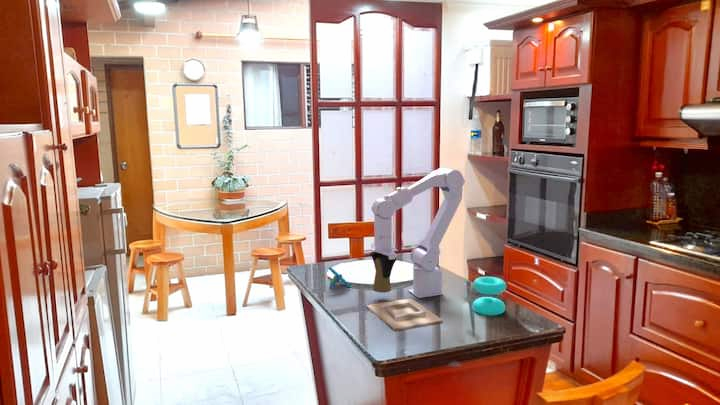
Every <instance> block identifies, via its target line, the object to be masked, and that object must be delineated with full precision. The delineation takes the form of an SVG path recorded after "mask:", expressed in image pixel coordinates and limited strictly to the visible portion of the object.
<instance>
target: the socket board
mask: <svg viewBox="0 0 720 405" xmlns="http://www.w3.org/2000/svg"><path fill="white" fill-rule="evenodd" d="M366 308H367V309H369V310H370V311H371V312H372V313H373V314H374V315H376V317H378V319H380V320H381V321H382V322H383V323H385V324H386V325H387V326H388V327H389V328H391V329H392V330H393V331H399V330H406V329H411V328H417V327H422V326H428V325H434V324H439V323H443V322H444V321H443V319H442V318H441V317H439V316H438V315H436V314H434V312H432V311H430V310H429V309H427V308H425V306H423V305H421V304H420V303H419V302H417V301H416V300H414V299H413V298H411V297H410V298H403V299H398V300H392V301H385V302H378V303H371V304H366Z"/></svg>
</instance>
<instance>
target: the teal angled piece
mask: <svg viewBox="0 0 720 405" xmlns="http://www.w3.org/2000/svg"><path fill="white" fill-rule="evenodd" d="M328 270H329V271H330V272H331V273H332V274H333V278H332V279H331V281H329V288H330V289H332V288H333V287H334V286H335V285H336V284H337V283H339V282H340V281H341V282H342V283H343V285H345V286H347V287H348V288H350V287H351V284H350V283H349V282H348V281H347V280H346V279H345V278H344V277H343V274H341V273H338V272H337V271H336V270H335V269H333V267H331V266H329V268H328Z"/></svg>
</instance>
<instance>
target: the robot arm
mask: <svg viewBox="0 0 720 405" xmlns="http://www.w3.org/2000/svg"><path fill="white" fill-rule="evenodd" d="M465 183H466V181H465V178H464V176H463V174H462V172H461V171H459V170H457V169H451V168H447V167H445V166H443V167H439V168H437V169H436V170H432V171H431V172H430V173H429V174H428V175H426V176H424V177H423V178H422V179H420V180H418V181H417V182H415V183H413V184H412V185H410V186H409V187H405V186H401V187H400V186H399V187H396V189H395V191H393V192H391V193H390V194H385V195H384V196H383V198H381V197H380V198H376V200H374V202H373V203H372V206H371V211H372V213H373V215H374V218H373V219H374V222H373V226H374V228H373V229H374V230H373V231H374V232H373V233H374V234H373V235H374V236H373V237H374V238H373V239H374V243H373V242H372V243H371V249H370V250H371V251H370V252H369V255H370V256H371V258H372V260H373V264H374V268H375V270H376V268H377V267H376V266H375V260H376V259H377V258H378V257H379V260H380V262H381V266H382V273H383V278H389V277H390V278H391V274H392V270H393V268H394V264H395V263H396V261H397V259H398V258H397V256H396V252H395V251H394V249H393V246H392V245H393V243H392V242H393V239H392V238H393V237H392V236H393V235H392V234H393V232H392V231H393V230H392V227H393V226H392V225H393V224H392V223H393V222H392V217H393V216H394V214H395V212H397V211H398V210H399V209H402V208H404V207H405V206H406V205H409V204H410V203H412V201H413V198H414V197H415V196H417V195H419V194H421V193H423V192H425V191H427V190H429V189H431V188H433V187H435V188H436V187H437V188H438V187H439V188H440V189H441V192H442V194H443V196H444V198H443V201H442V202H441V204H440V206H439V208H438V210H437V213H436V215H435V217H434V218H433V221H432V223H431V225H430V227H429V229H428V230H427V232H426V234H425V237H424V238H423V239H421V240H420V241H418V244H417V245H416V246H415V247H414V248H413V249H412V250H411V252H410V260H411V262H413V267H412V268H413V270H412V271H413V272H412V273H413V277H412V288H410V289H408V292H409V293H411V294H412V295H413V296H416V297H417V298H418V299H422V298H427V297H429V298H430V297H434V296H435V297H436V296H441V295H444V292H443V288H442V287H443V274H442V269H440V267H438V265H439V264H438V263H439V256H440V255H441V250H440V244H441V243H442V241H443V238H444V236H445V234H446V233H447V230H448V228H449V226H450V224H451V222H452V220H453V218H454V216H455V214H456V212H457V209H458V208H459V206H460V204H461V202H462V200H463V187H464V184H465Z"/></svg>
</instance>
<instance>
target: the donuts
mask: <svg viewBox="0 0 720 405" xmlns="http://www.w3.org/2000/svg"><path fill="white" fill-rule="evenodd" d="M473 288H474V289H475V290H476V291H477V292H478V293H481V294H485V295H499V294H502V293H504V292H505V291H506V289H507V283H506V282H505V281H504V280H503V279H502V278H499V277H495V276H480V277H477V278H475V279H474V281H473ZM472 309H473V310H474V311H475V312H476V313H477V314H481V315H482V316H492V317H493V316H500V315H501V314H503V313H505V311H506V304H505V302H503V301H502V300H501V299H499V298H496V297H493V296H482V297H478V298H476V299H475V300H474V301H473V302H472Z"/></svg>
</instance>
